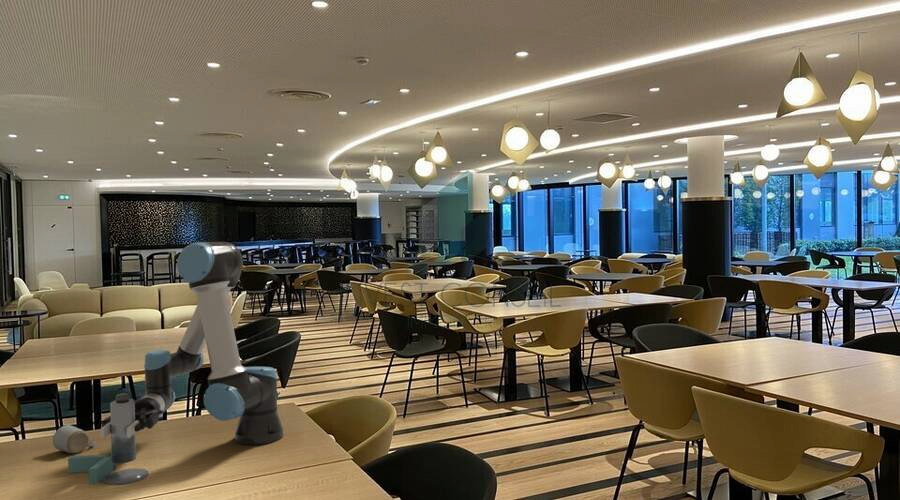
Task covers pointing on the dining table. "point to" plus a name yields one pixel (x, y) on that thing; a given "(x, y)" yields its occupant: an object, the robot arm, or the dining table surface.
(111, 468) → the bent rail
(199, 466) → the dining table surface
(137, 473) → the coaster
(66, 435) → the ceramic mug
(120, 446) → the bottle
